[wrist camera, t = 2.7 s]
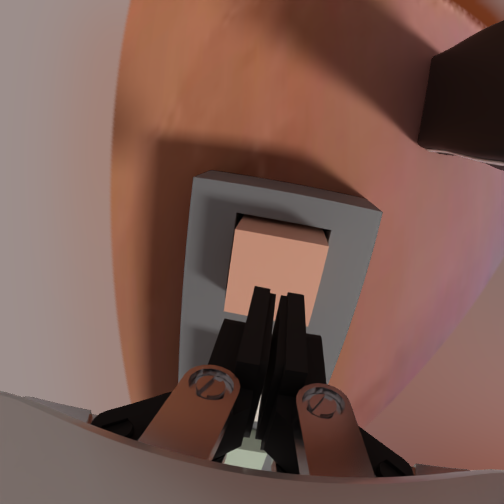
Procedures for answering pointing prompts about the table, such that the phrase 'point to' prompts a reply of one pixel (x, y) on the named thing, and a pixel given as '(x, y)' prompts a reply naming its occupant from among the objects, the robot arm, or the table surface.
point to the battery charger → (467, 100)
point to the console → (279, 208)
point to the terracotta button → (275, 262)
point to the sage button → (247, 454)
